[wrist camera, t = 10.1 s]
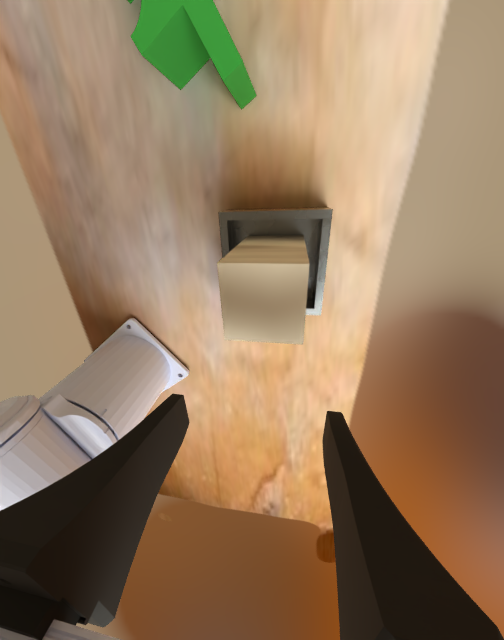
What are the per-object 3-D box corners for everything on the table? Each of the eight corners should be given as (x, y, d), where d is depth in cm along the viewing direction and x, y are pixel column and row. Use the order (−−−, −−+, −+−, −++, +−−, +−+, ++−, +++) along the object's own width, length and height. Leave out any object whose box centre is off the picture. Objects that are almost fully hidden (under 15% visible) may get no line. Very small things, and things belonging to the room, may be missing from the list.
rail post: (300, 288, 19) (303, 344, 12) (249, 287, 20) (224, 340, 13) (303, 235, 17) (309, 263, 10) (248, 235, 18) (217, 263, 11)
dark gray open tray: (318, 301, 20) (320, 315, 18) (234, 299, 21) (227, 311, 19) (327, 207, 17) (332, 209, 14) (228, 209, 18) (218, 212, 15)
